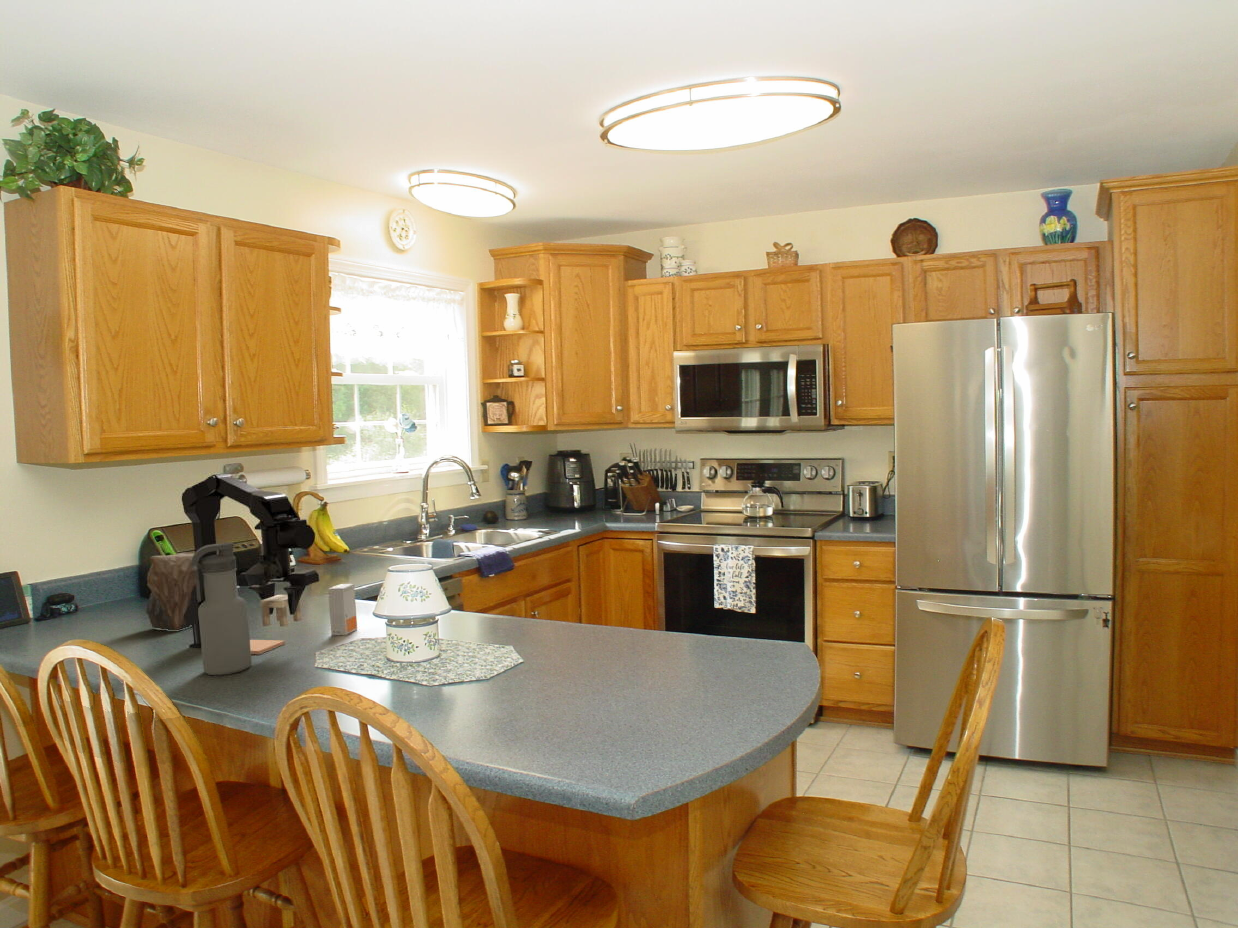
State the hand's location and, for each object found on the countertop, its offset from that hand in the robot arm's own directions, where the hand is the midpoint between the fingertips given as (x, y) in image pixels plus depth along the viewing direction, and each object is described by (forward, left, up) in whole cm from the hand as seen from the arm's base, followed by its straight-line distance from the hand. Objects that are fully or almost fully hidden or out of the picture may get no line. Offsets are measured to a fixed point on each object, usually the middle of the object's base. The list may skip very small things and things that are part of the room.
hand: (281, 614), depth 203 cm
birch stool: (0, 0, -2) cm, 2 cm away
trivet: (-11, +3, -9) cm, 15 cm away
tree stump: (-52, +20, -10) cm, 57 cm away
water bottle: (-5, -13, -10) cm, 17 cm away
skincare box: (+3, +19, -10) cm, 21 cm away
